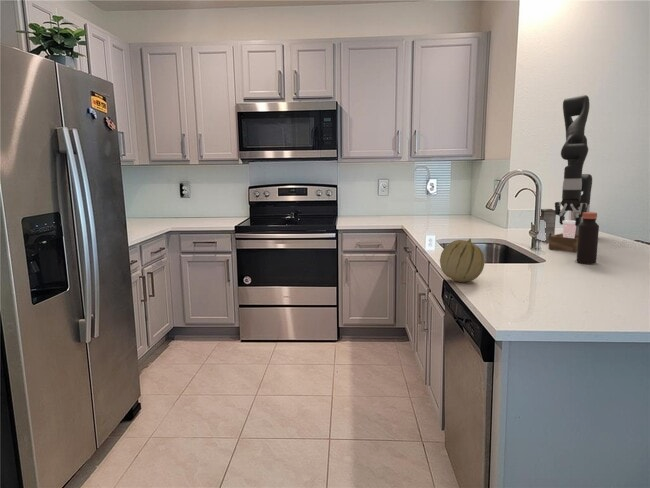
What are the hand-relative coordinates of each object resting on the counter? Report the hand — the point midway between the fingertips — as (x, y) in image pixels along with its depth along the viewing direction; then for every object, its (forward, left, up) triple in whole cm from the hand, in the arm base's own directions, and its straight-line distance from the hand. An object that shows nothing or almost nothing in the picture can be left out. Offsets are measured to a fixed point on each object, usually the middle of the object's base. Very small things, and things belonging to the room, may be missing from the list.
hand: (569, 224), depth 200 cm
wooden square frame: (0, 0, -11) cm, 11 cm away
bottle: (+24, +19, -11) cm, 33 cm away
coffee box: (-15, -19, -11) cm, 27 cm away
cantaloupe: (+84, +5, -11) cm, 85 cm away
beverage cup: (0, 0, -7) cm, 7 cm away
